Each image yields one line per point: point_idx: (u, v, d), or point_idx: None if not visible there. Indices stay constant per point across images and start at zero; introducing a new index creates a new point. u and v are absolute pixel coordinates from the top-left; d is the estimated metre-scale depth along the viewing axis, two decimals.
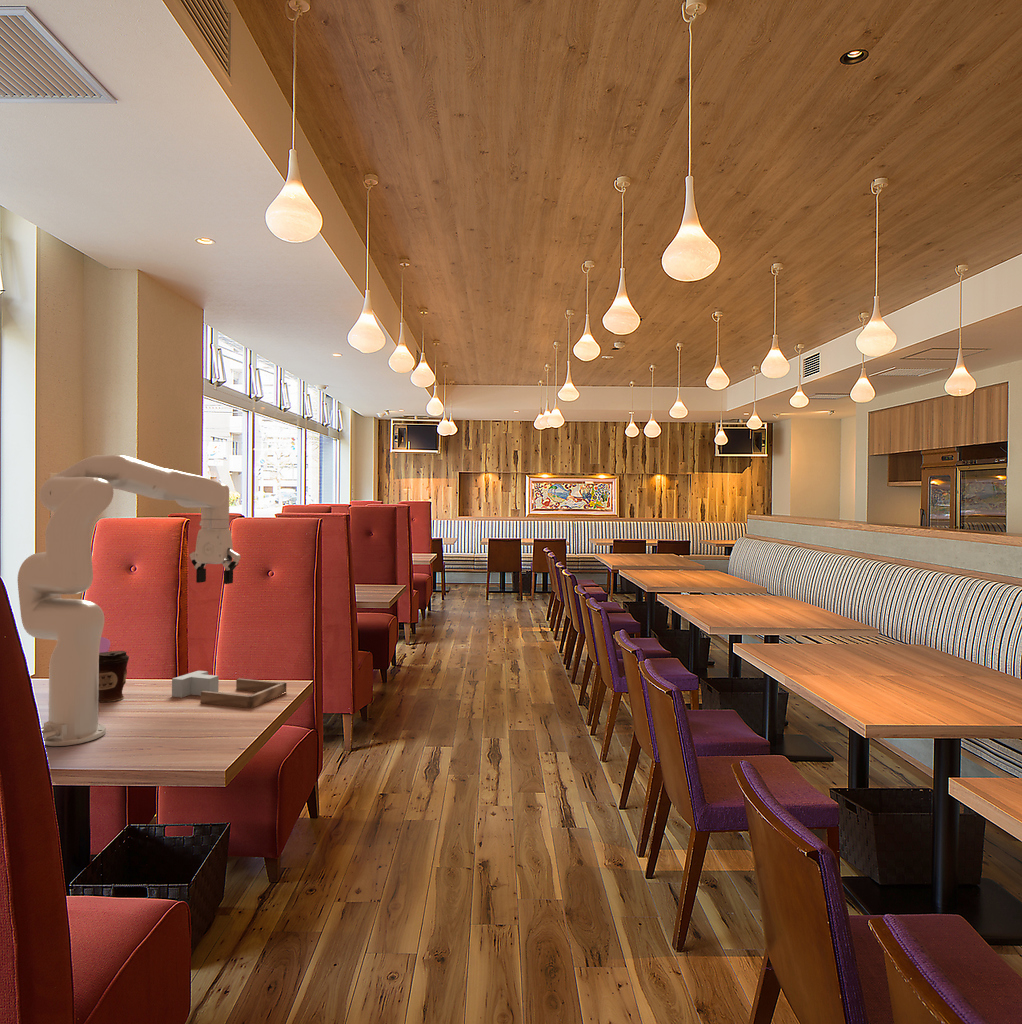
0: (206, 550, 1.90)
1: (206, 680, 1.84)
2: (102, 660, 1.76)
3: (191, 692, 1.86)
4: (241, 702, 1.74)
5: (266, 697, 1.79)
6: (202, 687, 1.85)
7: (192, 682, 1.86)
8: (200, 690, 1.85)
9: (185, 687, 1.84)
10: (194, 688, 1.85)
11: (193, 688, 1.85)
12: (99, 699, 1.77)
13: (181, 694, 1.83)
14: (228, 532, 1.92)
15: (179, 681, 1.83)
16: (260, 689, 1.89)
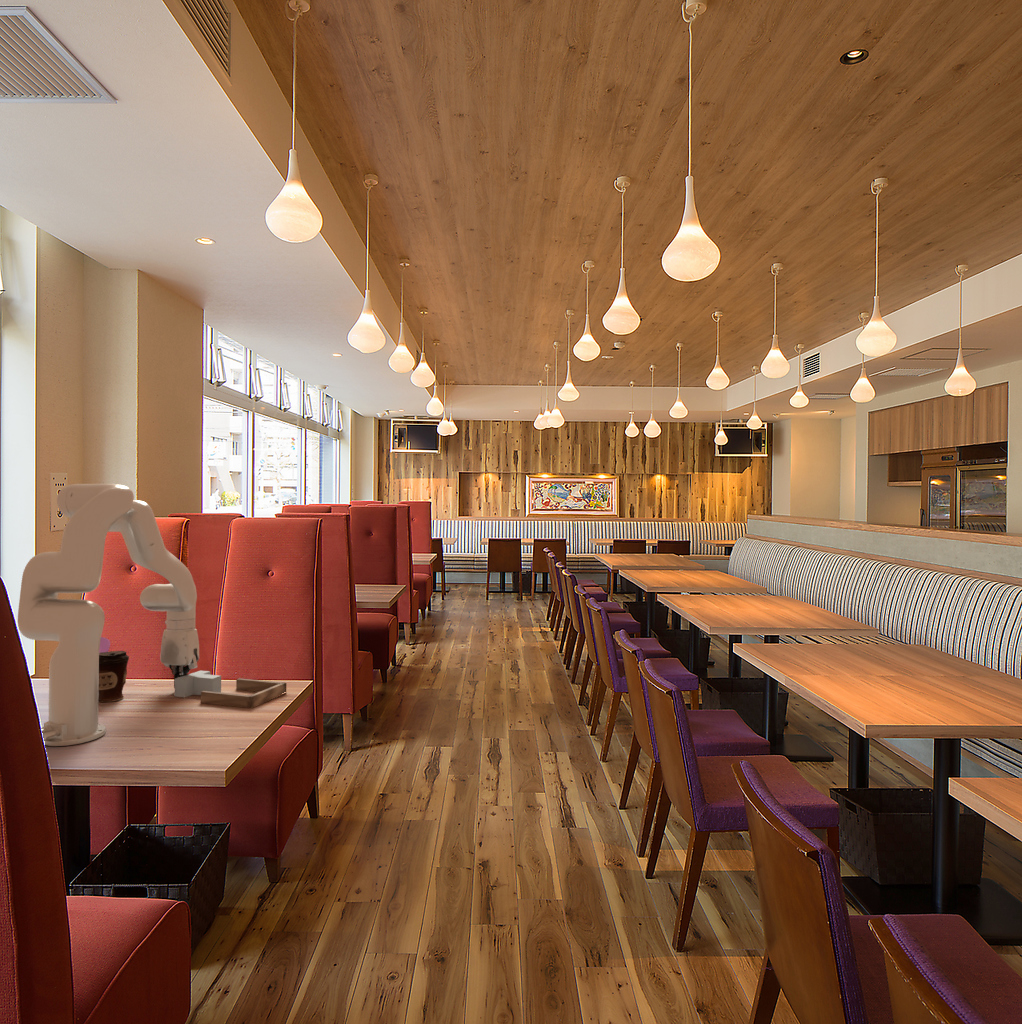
0: (172, 651, 1.86)
1: (209, 680, 1.84)
2: (102, 660, 1.76)
3: (193, 692, 1.86)
4: (241, 702, 1.74)
5: (266, 697, 1.79)
6: (205, 687, 1.85)
7: (194, 682, 1.86)
8: (203, 690, 1.85)
9: (188, 687, 1.84)
10: (197, 688, 1.85)
11: (196, 688, 1.85)
12: (99, 699, 1.77)
13: (184, 694, 1.83)
14: (194, 632, 1.88)
15: (182, 681, 1.83)
16: (260, 689, 1.89)
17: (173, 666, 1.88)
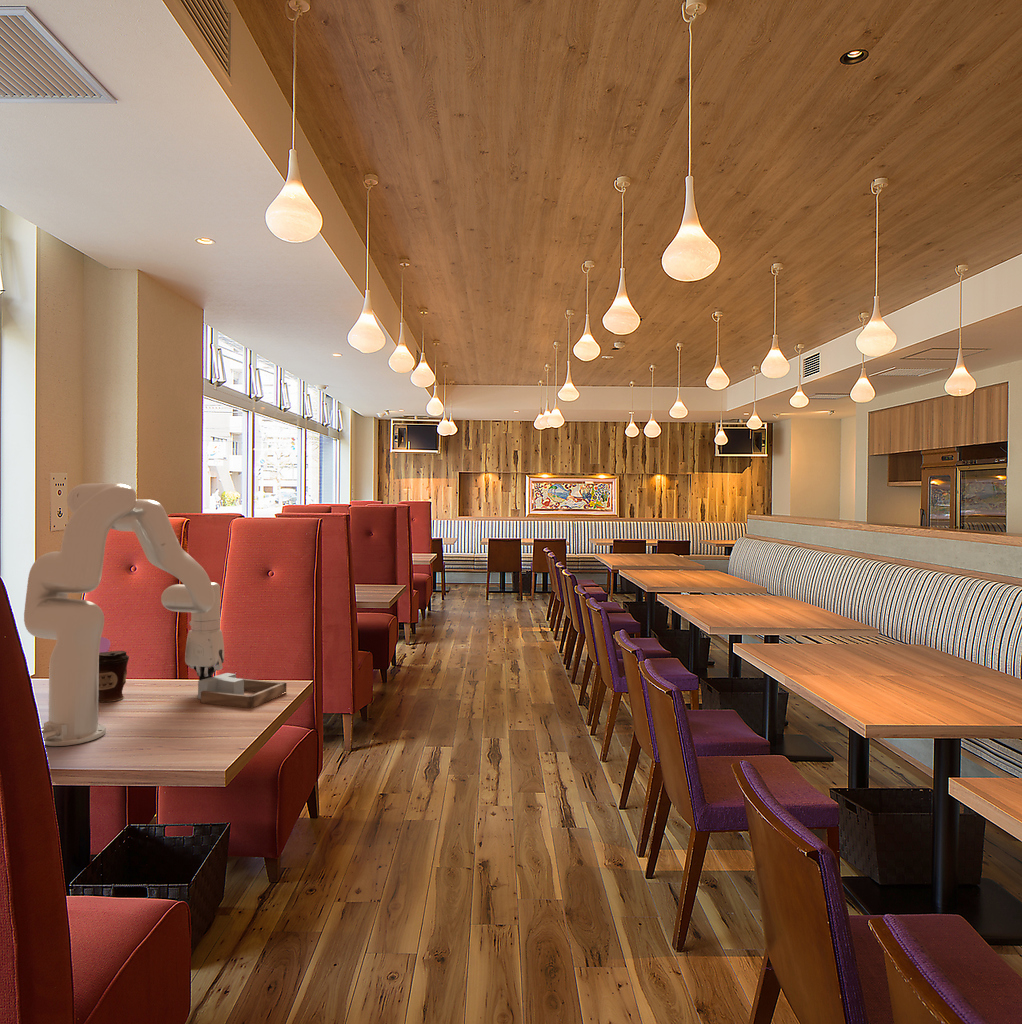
0: (197, 652, 1.84)
1: (231, 684, 1.81)
2: (102, 660, 1.76)
3: None
4: (241, 702, 1.74)
5: (266, 697, 1.79)
6: (227, 690, 1.81)
7: (217, 685, 1.83)
8: None
9: (211, 689, 1.81)
10: (220, 691, 1.83)
11: (219, 691, 1.83)
12: (99, 699, 1.77)
13: None
14: (219, 633, 1.86)
15: (204, 684, 1.81)
16: (260, 689, 1.89)
17: (198, 668, 1.86)
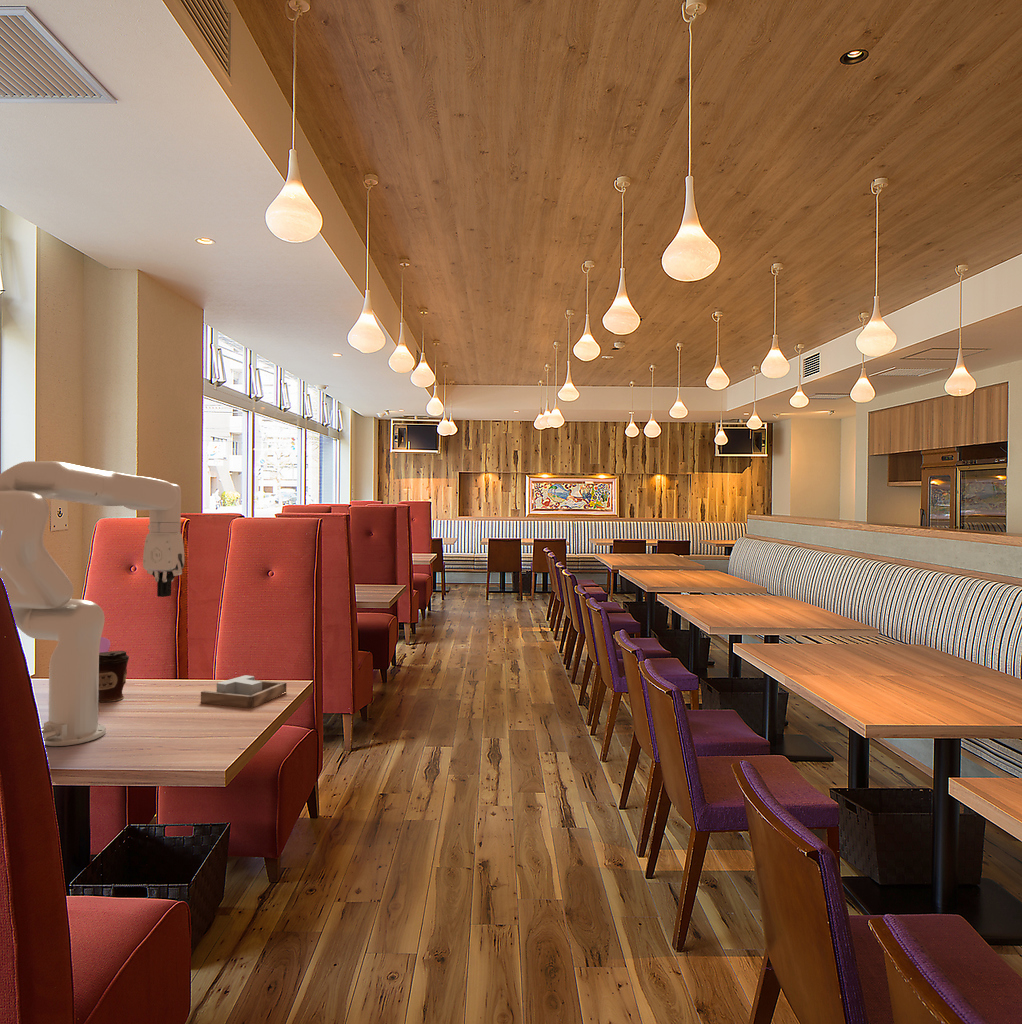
0: (155, 556, 1.75)
1: (249, 686, 1.78)
2: (102, 660, 1.76)
3: None
4: (241, 702, 1.74)
5: (266, 697, 1.79)
6: (245, 693, 1.79)
7: (236, 688, 1.81)
8: None
9: (229, 692, 1.79)
10: (238, 693, 1.80)
11: (237, 693, 1.80)
12: (99, 699, 1.77)
13: None
14: (179, 536, 1.76)
15: (223, 686, 1.78)
16: None
17: (156, 573, 1.76)
